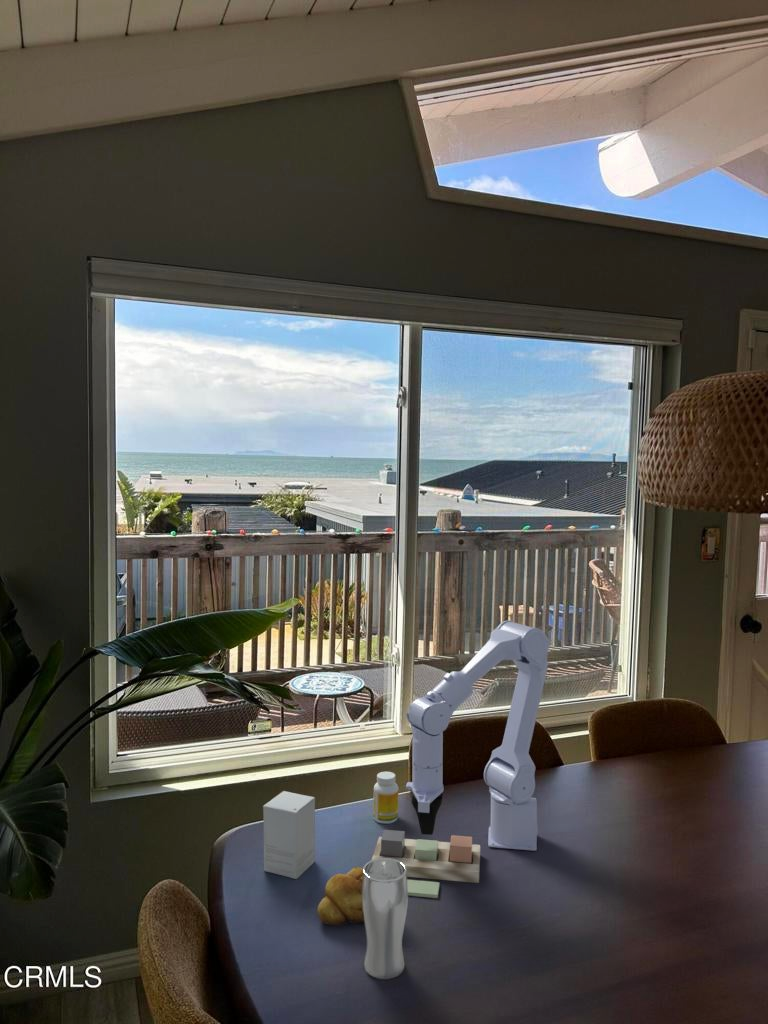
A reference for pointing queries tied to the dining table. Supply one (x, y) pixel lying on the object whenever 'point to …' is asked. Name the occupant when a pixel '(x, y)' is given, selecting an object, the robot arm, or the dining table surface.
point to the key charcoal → (393, 843)
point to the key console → (436, 863)
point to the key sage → (426, 850)
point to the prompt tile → (423, 888)
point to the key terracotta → (461, 849)
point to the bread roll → (343, 899)
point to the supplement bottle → (385, 798)
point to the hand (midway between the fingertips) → (427, 832)
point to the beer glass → (384, 916)
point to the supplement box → (289, 834)
